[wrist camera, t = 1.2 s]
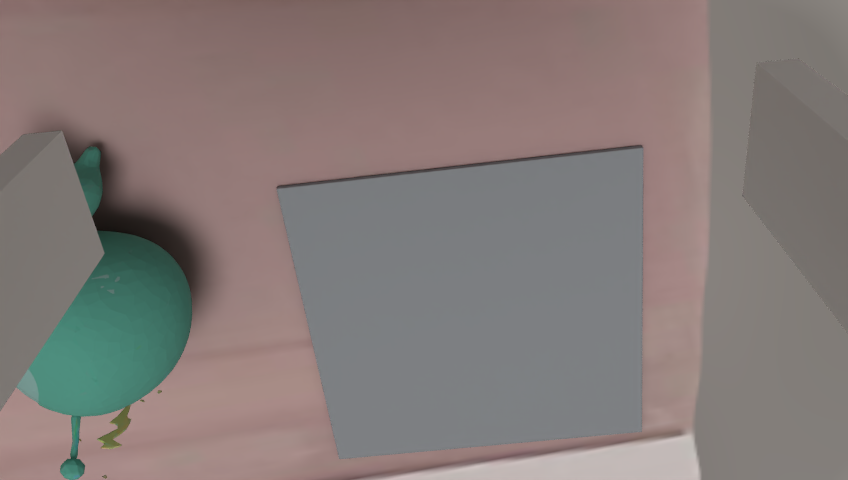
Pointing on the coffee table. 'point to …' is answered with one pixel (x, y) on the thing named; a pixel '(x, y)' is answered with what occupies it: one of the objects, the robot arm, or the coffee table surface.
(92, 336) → the toy
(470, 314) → the mat
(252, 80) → the coffee table surface
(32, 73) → the coffee table surface
